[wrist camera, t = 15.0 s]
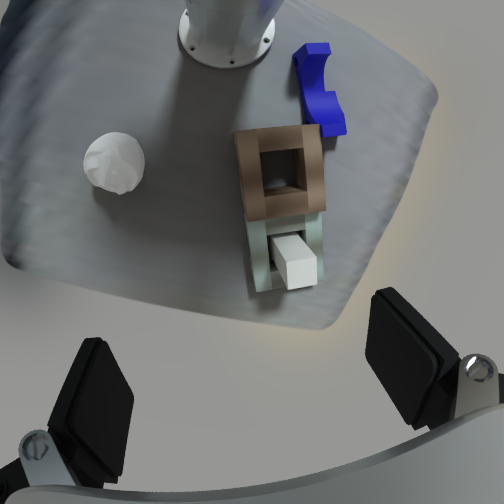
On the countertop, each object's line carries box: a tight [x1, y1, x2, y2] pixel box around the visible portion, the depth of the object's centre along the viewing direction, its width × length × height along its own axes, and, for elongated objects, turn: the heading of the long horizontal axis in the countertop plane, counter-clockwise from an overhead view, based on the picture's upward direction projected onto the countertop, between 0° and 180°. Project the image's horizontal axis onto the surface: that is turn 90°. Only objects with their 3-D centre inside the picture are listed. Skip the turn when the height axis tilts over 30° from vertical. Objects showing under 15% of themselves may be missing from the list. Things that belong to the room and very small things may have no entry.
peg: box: [270, 231, 317, 290], centre depth 39 cm, size 4×4×10 cm
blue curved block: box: [293, 43, 347, 137], centre depth 34 cm, size 12×4×6 cm, turn 11°
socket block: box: [233, 124, 326, 292], centre depth 39 cm, size 22×10×5 cm, turn 7°
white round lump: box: [83, 132, 145, 195], centre depth 33 cm, size 8×8×8 cm
